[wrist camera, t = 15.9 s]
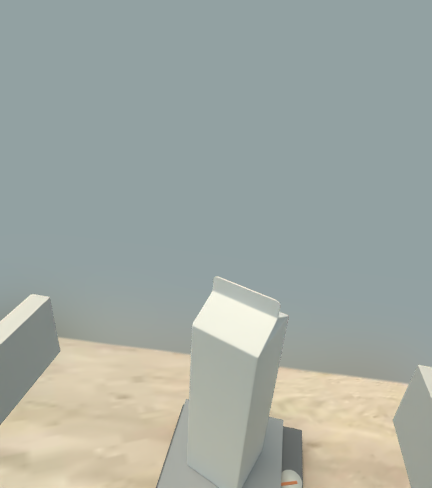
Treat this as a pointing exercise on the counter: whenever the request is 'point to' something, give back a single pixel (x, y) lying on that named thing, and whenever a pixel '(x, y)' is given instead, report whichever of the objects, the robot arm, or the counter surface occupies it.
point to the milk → (232, 381)
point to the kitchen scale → (263, 472)
